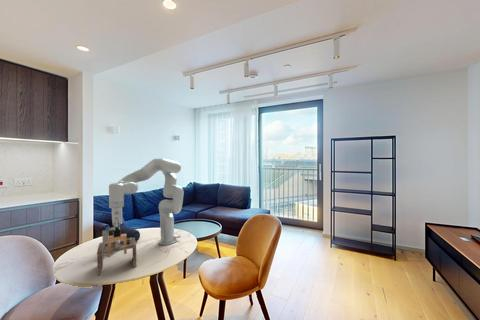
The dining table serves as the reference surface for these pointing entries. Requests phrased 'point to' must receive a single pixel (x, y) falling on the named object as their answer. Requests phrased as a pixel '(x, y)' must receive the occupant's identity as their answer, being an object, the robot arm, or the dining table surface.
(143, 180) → the robot arm
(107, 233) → the coffee box
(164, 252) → the dining table surface
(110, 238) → the tan and grey block
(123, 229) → the portable speaker
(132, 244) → the shelf
